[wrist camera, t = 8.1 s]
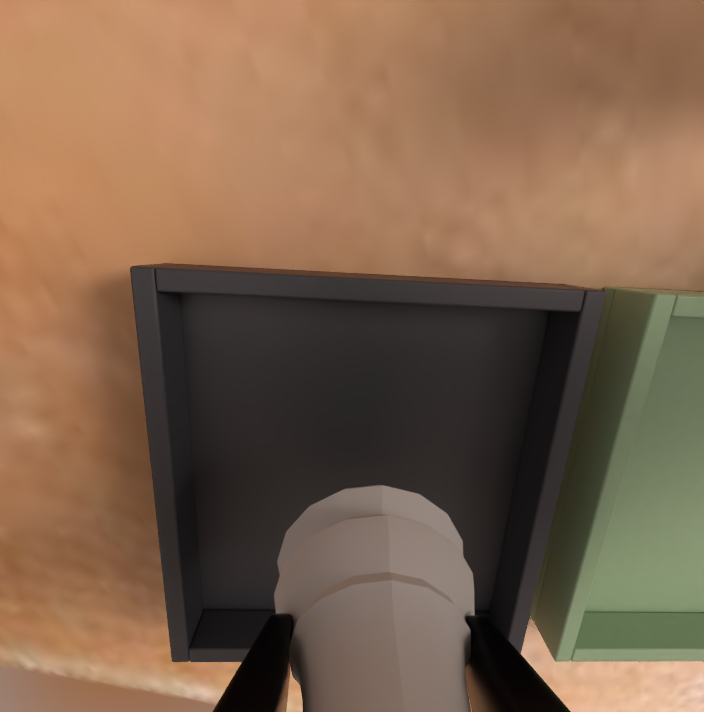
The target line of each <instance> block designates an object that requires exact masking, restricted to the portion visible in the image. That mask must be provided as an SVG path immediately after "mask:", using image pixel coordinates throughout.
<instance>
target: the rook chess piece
mask: <svg viewBox="0 0 704 712" xmlns="http://www.w3.org/2000/svg"><path fill="white" fill-rule="evenodd" d="M277 563H278V569H279V574H280V577H279V580H278V583H277V586H276V590H275V593H274V601H275V609H276V613H289V614H291V615H292V638H291V641H290V651H289V655H290V665H291V670H292V675H293V677H294V679H295V680H296V681H297V682H298V683H299V685H300V686H301V692H302V699H303V712H471V708H470V702H469V696H468V691H467V685H466V674H465V668H466V666H467V664H468V662H469V659H470V652H471V630H470V628H469V627H468V625H467V623H466V617H467V616H469V615H475V610H474V582H473V573H472V571H471V569H470V568H469V566H468V564H467V562H466V560H465V559H464V557H463V541H462V539H461V537H460V535H459V534H458V532H457V530H456V528H455V526H454V525H453V523H452V521H451V519H450V517H449V516H448V514H447V513H445V512H444V511H443V510H441V509H440V508H438V507H437V506H436V505H434V504H433V503H431V502H430V501H429V500H427V499H426V498H424V497H423V496H421V495H420V494H417V493H413V492H409V491H405V490H400V489H396V488H392V487H388V486H384V485H371V486H362V487H353V488H346V489H343V490H341V491H339V492H337V493H335V494H333V495H331V496H329V497H327V498H325V499H323V500H321V501H319V502H317V503H315V504H313V505H311V506H309V507H308V508H307V509H306V510H305V511H304V513H303V514H302V515H301V516H300V517H299V518H298V519H297V520H296V521H295V522H294V524H293V525H292V526H291V527H290V528H289V529H288V530H287V531H286V534H285V537H284V540H283V544H282V547H281V550H280V554H279V557H278V560H277Z"/></svg>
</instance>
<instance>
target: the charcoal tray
mask: <svg viewBox="0 0 704 712" xmlns="http://www.w3.org/2000/svg"><path fill="white" fill-rule="evenodd" d="M130 272H131V282H132V291H133V300H134V310H135V319H136V329H137V338H138V347H139V357H140V366H141V375H142V385H143V394H144V404H145V413H146V422H147V432H148V441H149V450H150V460H151V469H152V478H153V488H154V497H155V507H156V516H157V525H158V535H159V544H160V553H161V563H162V572H163V582H164V591H165V600H166V610H167V619H168V628H169V638H170V647H171V657H172V661H173V662H188V661H189V660H190V661H191V662H243V660H244V658H245V657H246V655H247V653H248V652H249V650H250V648H251V647H252V645H253V643H254V642H255V640H256V638H257V637H258V635H259V633H260V632H261V630H262V628H263V626H264V625H265V623H266V621H267V620H268V618H269V617H270V616H271V615H272V614H274V613H276V609H275V601H274V593H275V590H276V586H277V583H278V580H279V577H280V574H279V569H278V563H277V560H278V557H279V554H280V550H281V547H282V544H283V540H284V537H285V534H286V531H287V530H288V529H289V528H290V527H291V526H292V525H293V524H294V522H295V521H296V520H297V519H298V518H299V517H300V516H301V515H302V514H303V513H304V511H305V510H306V509H307V508H308V507H309V506H311V505H313V504H315V503H317V502H319V501H321V500H323V499H325V498H327V497H329V496H331V495H333V494H335V493H337V492H339V491H341V490H343V489H346V488H353V487H362V486H371V485H384V486H388V487H392V488H396V489H400V490H405V491H409V492H413V493H417V494H420V495H421V496H423V497H424V498H426V499H427V500H429V501H430V502H431V503H433V504H434V505H436V506H437V507H438V508H440V509H441V510H443V511H444V512H445V513H447V514H448V516H449V517H450V519H451V521H452V523H453V525H454V526H455V528H456V530H457V532H458V534H459V535H460V537H461V539H462V541H463V557H464V559H465V560H466V562H467V564H468V566H469V568H470V569H471V571H472V573H473V582H474V610H475V615H484V616H487V617H488V618H489V619H490V620H491V621H492V622H493V623H494V624H495V625H496V626H497V628H498V629H499V630H500V631H501V632H502V633H503V634H504V636H505V637H506V638H507V639H508V640H509V641H510V643H511V644H512V645H513V646H514V647H515V648H516V649H517V651H518V652H519V653H520V654H521V650H522V646H523V641H524V637H525V633H526V629H527V625H528V621H529V616H530V612H531V608H532V604H533V600H534V595H535V591H536V587H537V583H538V579H539V575H540V570H541V566H542V562H543V558H544V554H545V550H546V545H547V541H548V537H549V533H550V529H551V524H552V520H553V516H554V512H555V508H556V504H557V499H558V495H559V491H560V487H561V483H562V478H563V474H564V470H565V466H566V462H567V458H568V453H569V449H570V445H571V441H572V437H573V432H574V428H575V424H576V420H577V416H578V412H579V407H580V403H581V399H582V395H583V391H584V387H585V382H586V378H587V374H588V370H589V366H590V361H591V357H592V353H593V349H594V345H595V341H596V336H597V332H598V328H599V324H600V320H601V315H602V311H603V307H604V303H605V299H606V295H607V292H606V291H603V290H597V289H590V288H584V287H577V286H571V285H564V284H548V283H529V282H510V281H491V280H472V279H453V278H434V277H415V276H396V275H377V274H358V273H340V272H321V271H302V270H283V269H264V268H245V267H226V266H207V265H188V264H169V263H164V264H153V265H140V266H132V267H131V268H130Z"/></svg>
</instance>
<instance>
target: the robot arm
mask: <svg viewBox="0 0 704 712" xmlns="http://www.w3.org/2000/svg"><path fill="white" fill-rule="evenodd" d="M466 623H467V625H468V627H469V628H470V630H471V652H470V659H469V662H468V664H467V666H466V668H465V674H466V685H467V690H468V695H469V700H470V705H471V710H472V712H570V711H569V709H568V708H567V707H566V706H565V705H564V704H563V702H562V701H561V700H560V699H559V698H558V697H557V696H556V694H555V693H554V692H553V691H552V690H551V689H550V687H549V686H548V685H547V684H546V683H545V682H544V681H543V679H542V678H541V677H540V676H539V675H538V674H537V672H536V671H535V670H534V669H533V668H532V667H531V666H530V664H529V663H528V662H527V661H526V660H525V659H524V658H523V656H522V655H521V654H520V653H519V652H518V651H517V649H516V648H515V647H514V646H513V645H512V644H511V643H510V641H509V640H508V639H507V638H506V637H505V636H504V634H503V633H502V632H501V631H500V630H499V629H498V628H497V626H496V625H495V624H494V623H493V622H492V621H491V620H490V619H489V618H488V617H487V616H484V615H469V616H467V617H466ZM291 638H292V615H291V614H289V613H274V614H272V615H271V616H270V617H269V618H268V620H267V621H266V623H265V625H264V626H263V628H262V630H261V632H260V633H259V635H258V637H257V638H256V640H255V642H254V643H253V645H252V647H251V648H250V650H249V652H248V653H247V655H246V657H245V658H244V660H243V662H242V663H241V665H240V667H239V668H238V670H237V672H236V673H235V675H234V677H233V678H232V680H231V682H230V683H229V685H228V687H227V688H226V690H225V692H224V693H223V695H222V697H221V699H220V700H219V702H218V704H217V705H216V707H215V709H214V710H213V712H286V708H287V698H288V687H289V677H290V667H291V665H290V655H289V651H290V641H291Z"/></svg>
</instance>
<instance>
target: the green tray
mask: <svg viewBox="0 0 704 712" xmlns="http://www.w3.org/2000/svg"><path fill="white" fill-rule="evenodd" d="M604 291H606V292H607V295H606V299H605V303H604V307H603V311H602V315H601V320H600V324H599V328H598V332H597V336H596V341H595V345H594V349H593V353H592V357H591V361H590V366H589V370H588V374H587V378H586V382H585V387H584V391H583V395H582V399H581V403H580V407H579V412H578V416H577V420H576V424H575V428H574V432H573V437H572V441H571V445H570V449H569V453H568V458H567V462H566V466H565V470H564V474H563V478H562V483H561V487H560V491H559V495H558V499H557V504H556V508H555V512H554V516H553V520H552V524H551V529H550V533H549V537H548V541H547V545H546V550H545V554H544V558H543V562H542V566H541V570H540V575H539V579H538V583H537V587H536V591H535V595H534V600H533V604H532V608H531V612H530V615H531V617H532V619H533V621H535V624H536V626H537V628H538V630H539V632H540V634H541V636H542V638H543V640H544V641H545V643H546V645H547V647H548V649H549V651H550V653H551V655H552V657H553V658H554V660H555V661H570V660H571V661H704V292H700V291H681V290H662V289H643V288H624V287H605V288H604Z"/></svg>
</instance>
